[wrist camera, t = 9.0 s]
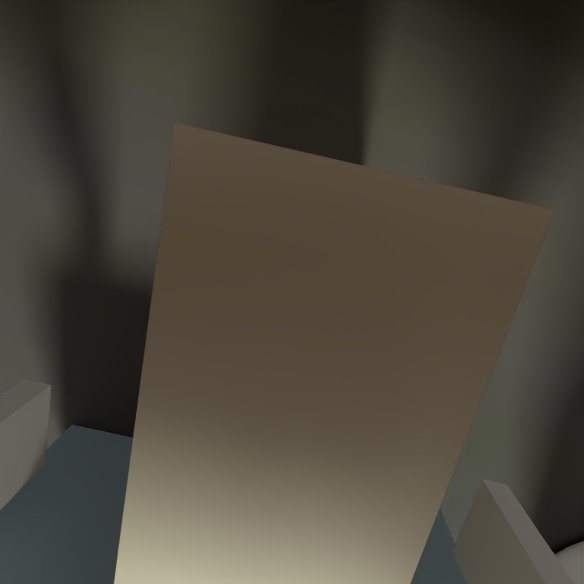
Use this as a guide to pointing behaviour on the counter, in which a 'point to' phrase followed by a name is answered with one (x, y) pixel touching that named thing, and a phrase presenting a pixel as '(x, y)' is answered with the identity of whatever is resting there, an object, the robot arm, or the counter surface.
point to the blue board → (112, 518)
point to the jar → (573, 561)
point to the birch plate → (310, 363)
